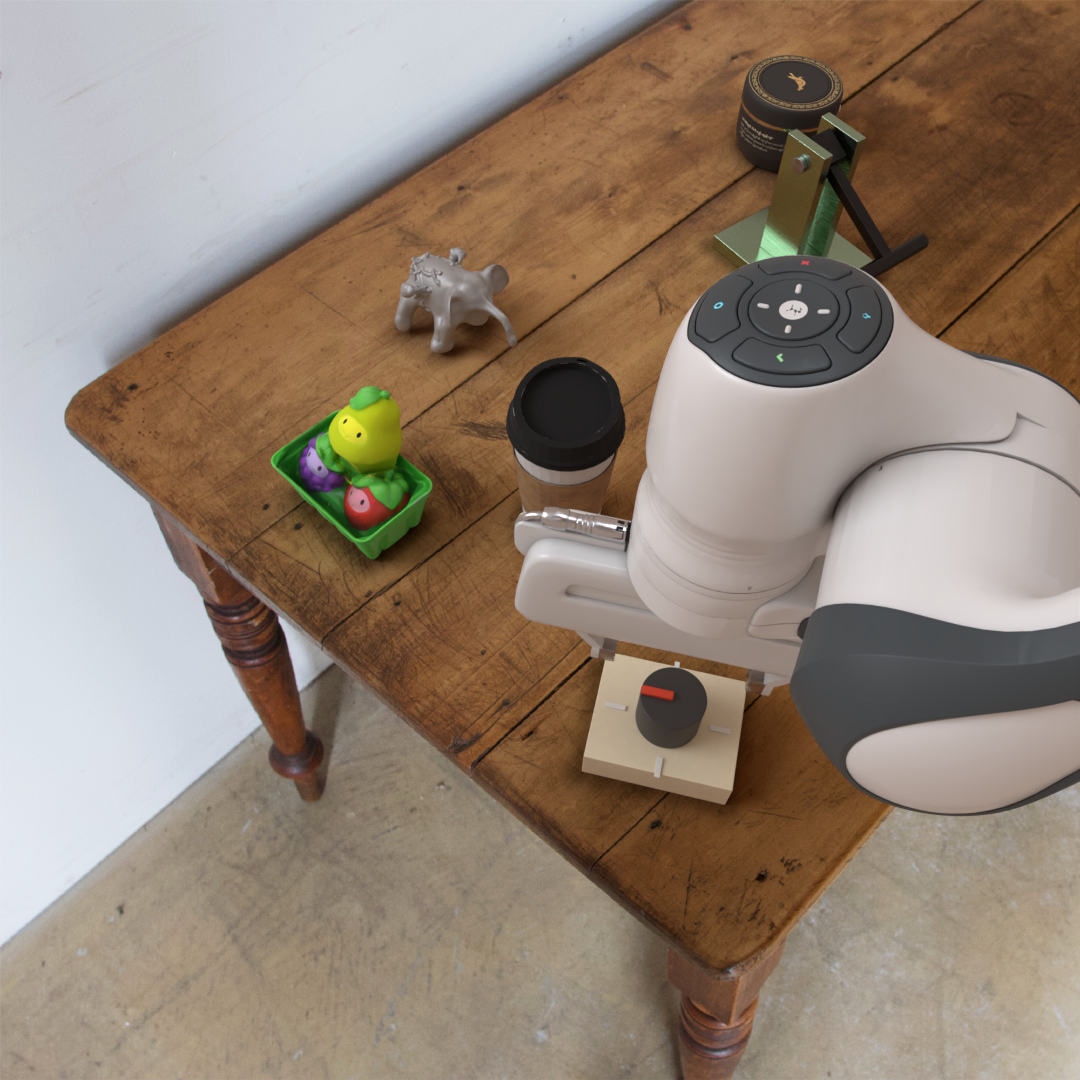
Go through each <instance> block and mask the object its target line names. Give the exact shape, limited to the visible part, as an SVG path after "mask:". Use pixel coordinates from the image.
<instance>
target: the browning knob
mask: <svg viewBox="0 0 1080 1080" xmlns="http://www.w3.org/2000/svg"><path fill="white" fill-rule="evenodd" d="M681 668H682V667H680V668H676V667H667V668H662V669H659V670H657V671H655V672H653V673H651V674H650V675H649V676H648V677H647V678H646V679H645V681H644V682H643V685H642V687H641V690H640V695H639V699H638V703H637V708H636V713H635V719H636V724H637V727H638V729H639V731H640V733H641V734H642V735H643V737H644V738H645V739H646V740H648V741H649V742H650V743H652V744H654V745H656V746H658V747H662V748H678V747H681V746H684V745H686V744H687V743H689V742H690V741H691V740H692V739H693V738H694V737H695V735H696V734H697V732H698V729H699V726H700V724H701V721H702V719H703V716H704V713H705V711H706V708H707V694H706V691H705V688H704V686H703V685H702V683H701V682H700V680H699V679H698V678H697V677H696V676H695V675H693V674H692V673H690V672H688V671H686V670H684V669H681Z"/></svg>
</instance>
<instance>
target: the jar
mask: <svg viewBox="0 0 1080 1080" xmlns="http://www.w3.org/2000/svg"><path fill="white" fill-rule="evenodd" d="M740 95H741V96H740V105H739V109H738V116H737V120H736V127H735V134H736V143H737V147H738V150H739V151H740V153H741V154H742V156H743V157H744V158H745V160H746V161H748V162H749V163H750V164H752V165H753V166H755V167H757V168H759V169H761V170H764V171H766V172H771V173H776V174H778V172H779V168H780V164H781V160H782V156H783V152H784V148H785V144H786V140H787V136H788V133H789V132H791V131H793V130H795V129H797V130H799V131H800V132H802V133H803V134H804V135H806V136H807V137H809V138H810V139H811V138H812V137H813V136H815V135H817V131H818V127H819V124H820V120H821V117H822V116H823V115H825V114H827V113H829V112H830V113H831V114H833V115H834V116H836V117H837V118H838V117H839V114H840V112H841V107H842V100H843V96H844V84H843V81H842V79H841V77H840V76H839V74H838V73H837V71H836V70H834V69H832V67H830V66H829V65H827V64H825V63H824V62H821V61H820V60H817V59H815V58H812V57H808V56H804V55H796V54H780V55H774V56H769V57H767V58H763V59H761V60H760V61H758V62H757V63H755V64H754V65H753V66H752V67H751V68H750V69H749V70H748V72H747V74H746V76H745V79H744V82H743V87H742V90H741V94H740Z"/></svg>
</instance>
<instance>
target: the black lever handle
mask: <svg viewBox="0 0 1080 1080" xmlns="http://www.w3.org/2000/svg"><path fill="white" fill-rule="evenodd" d="M811 140H813V141H814V142H816V143H817V144H818V145H820V146H821V147H823V148H824V149H825V150H827V151H828V152H830V153H831V154H832V155H833V157H832V160H831V164H830V167H829V170H828V174H827V177H826V178H827V180H828V181H829V183H830V185H831V186H832V188H833V190H834V191H835V193H836V195H837V196H838V198H839V200H840V201H841V203H842V205H843V206H844V207H843V209H844V210H845V211H846V213H847V215H848V216H849V218H850V220H851V221H852V223H853V225H854V226H855V228H856V230H857V231H858V234H859V235H860V237H861V239H862V240H863V241H864V243H865V246H866V247H867V248H868V250H869V252H870V253H871V255H872V257H873V258H874V259H872V260H873V261H871V262H870V263H868V264H866V265H864V266H863V267H861V268H859V269H861V270H862V271H864V272H866V273H868V274H869V275H871V276H872V277H874V278H875V279H878V277H881V276H882V275H884V274H886V273H887V272H889V271H890V270H893V269H894V268H895V267H897V266H899V265H900V264H902V263H904V262H905V261H907V260H909V259H910V258H913V256H915V255H917V254H919V253H921V252H922V251H924V250H925V249H927V248H928V246H929V244H930V243H929V239H928V236H926V234H924V233H917V234H916V235H914V236H912V237H911V238H909V239H907V240H905V241H903V242H902V243H900V244H899V245H897V246H895V247H893V248H892V249H890V247H889V245H888V244H887V241H886V240H885V238H884V237H883V235H882V233H881V232H880V230H879V229H878V226H877V225H876V223H875V222H874V219H873V218H872V216H871V215H870V214H869V211H868V210H867V209H866V206H865V205H864V202H862V200H861V198H860V197H859V195H858V193H857V192H856V189H855V188H854V186H852V183H850V182H849V180H848V178H847V177H846V175H845V173H844V172H843V170H842V168H841V167H840V165H839V162H840V161H841V160H842V159H843V158H844V157H846V156H847V155H846V153H845V151H844V150H843V148H842V146H841V145H840V143H839V141H838V140H837V138H836V136H835V135H834V133H833V131H832V130H831V128H828V129H827V130H825V131H823V132H821V133H819V134H817V135H815V136H813V137H812V138H811Z"/></svg>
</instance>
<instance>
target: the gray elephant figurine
mask: <svg viewBox="0 0 1080 1080" xmlns="http://www.w3.org/2000/svg"><path fill="white" fill-rule="evenodd" d="M465 258H467V251H466V250H464V249H462V248H461V247H458V246H457V247H452V248H450V249H449V256H448V258H446V257H445V256H444V257H443V256H442V257H441V255H440V254H438V255H434V254H431V253H430V252H429V251H426V252H425V253H423V254H422V255H418V256H417V257H416V256H412V257H411V258H410V260H411V261H412V262H411V264H410V267H409V269H410V270H409V271H408V276H409V277H408V279H406V281H405V282H402V283H401V284H400V290H399V292H400V294H399V300H398V304H397V308H396V312H395V316H394V325H395V327H396V329H397V330H399V331H400V332H402V333H406V332H407V331H409V330H410V329H411V327H412V325H413V319H414V316H415V314H416V311H417V310H419V308H420V309H425V311H426V312H428V313H431V315H432V316H433V322H434V323H433V329H434V330H433V334H432V337H431V341H430V345H429V347H430V350H431V352H432V353H434V354H445V353H447V352H450V351H451V350H453V348H454V345H455V343H454V339H453V337H454V334H455V333H456V330H457V328H458V326H459V325H460V324H463V323H464V324H465V323H466V324H469V325H471V326H475V327H478V326H479V327H480V326H483V325H485V324H486V323H487V322H488V319H489V317H490V316H491V317H493V318H495V319H496V320H497V321H499V323H500V324H501V325H502V326H503V329H504V331H505V334H506V341H507V343H508V346H509V347H510V348H515V347H516V346H517V344H518V337H517V336H516V334H515V333H516V332H515V330H514V326H513V325H512V323H511V321H510V319H509V318H508V316H507V315H506V314H505V313H504V312H503V311H502V310H501V309H500V308H498V307H497V306H496V305H495V303H494V298H493V297H496V296H498V295H500V294H501V293H502V292H503V291H504V290H505V289H506V288H507V287H508V285H509V283H510V276H509V273H508V271H507V268H505V267H504V266H503V265H501V264H498V263H494V264H491V265H488V266H487V267H485V268H484V269H483V270H475V271H469V270H467V269H465V268H464V267H463V265H462V262H463V260H464V259H465Z"/></svg>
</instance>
